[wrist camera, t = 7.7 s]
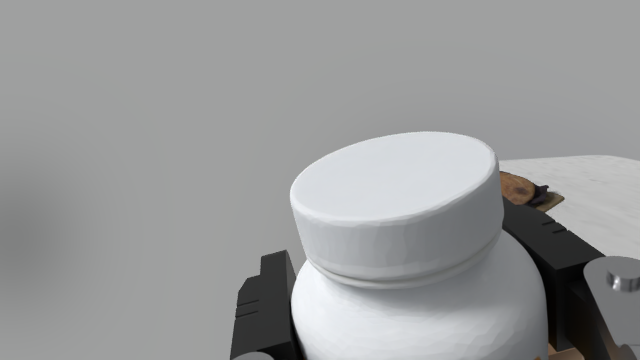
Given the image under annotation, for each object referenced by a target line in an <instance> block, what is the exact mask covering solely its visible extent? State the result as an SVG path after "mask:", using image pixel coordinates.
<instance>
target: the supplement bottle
mask: <svg viewBox="0 0 640 360" xmlns="http://www.w3.org/2000/svg"><path fill="white" fill-rule="evenodd" d="M290 202H291V206H292V210H293V214H294V217H295V221H296V224H297V227H298V231H299V235H300V238H301V242H302V245H303V248H304V250H305V254H306V256H307V261H306V262H305V263H304V265H303V267H302V268H301V270H300V272H299V274H298V276H297V279H296V282H295V285H294V288H293V292H292V298H291V316H292V323H293V327H294V331H295V335H296V338H297V341H298V345H299V348H300V351H301V354H302V357H303V360H548V319H547V306H546V295H545V290H544V285H543V281H542V278H541V275H540V273H539V271H538V269H537V267H536V265H535V263H534V261H533V259H532V258H531V257H530V255H529V254H528V252H527V251H526V250H525V249H524V247H523V246H522V245H521V244H520V243H519V242H518V241H517V240H516V239H515V238H513V237H512V236H511V235H510V234H509V233H507V232H506V231H504V230H503V229H502V221H503V218H504V206H503V199H502V193H501V182H500V172H499V163H498V159H497V156H496V154H495V153H494V151H493V150H492V149H491V148H490V147H489V146H488V145H487V144H485V143H484V142H482V141H480V140H478V139H475V138H473V137H469V136H465V135H460V134H454V133H448V132H413V133H403V134H396V135H390V136H384V137H379V138H374V139H370V140H366V141H362V142H359V143H356V144H353V145H350V146H347V147H345V148H342V149H340V150H337V151H335V152H333V153H331V154H328V155H326V156H325V157H323V158H321V159H319V160H317V161H316V162H314V163H313V164H311V165H310V166H308V167H307V168H306V169H305V170H304V171H303V172H302V173H301V174H300V175H299V176H298V177H297V178H296V180H295V181H294V183H293V185H292V187H291V191H290Z"/></svg>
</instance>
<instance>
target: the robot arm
mask: <svg viewBox="0 0 640 360" xmlns="http://www.w3.org/2000/svg"><path fill="white" fill-rule="evenodd" d="M502 199H503V206H504V218H503V221H502V229H503V230H504V231H506V232H507V233H509V234H510V235H511V236H512V237H513V238H515V239H516V240H517V241H518V242H519V243H520V244H521V245H522V246H523V247H524V249H525V250H526V251H527V252H528V254H529V255H530V257H531V258H532V259H533V261H534V263H535V265H536V267H537V269H538V271H539V273H540V275H541V278H542V281H543V285H544V290H545V295H546V306H547V319H548V343H549V344H550V345H551V346H552V347H553V348H554V350H555V351H556V352H561V351H564V350H568V349H572V348H576V349H577V350H578V351H579V352H580V353H581V354H582V360H640V260H637V259H633V258H628V257H620V256H608V257H606V256H605V255H604V254H602V253H601V252H599V251H598V250H597V249H595V248H594V247H592V246H591V245H589V244H588V243H587V242H585V241H584V240H582V239H581V238H579V237H578V236H577V235H575V234H574V233H572V232H571V231H570V230H568V231H567V229H566V228H565V227H564V226H562V225H561V224H560V223H558V222H557V223H556V222H555V220H554V219H553V218H551V217H550V216H548V215H547V214H545V213H544V212H543V211H541V210H538V209H535V208H532V207H529V206H526V205H520V206H516V205H515V204H514V203H512V202H511V201H510V200H508V199H507V198H506V197H505V196H503V195H502ZM260 270H261V271H260V275H258V276H254V277H250V278H247V280H246V281H245V283H244V284H243V286H242V287H241V289H240V290H239V292H238V300H237V308H236V316H235V317H236V320H235V323H234V331H233V338H232V347H231V355H230V360H303V357H302V354H301V351H300V348H299V345H298V341H297V338H296V335H295V331H294V327H293V323H292V316H291V298H292V292H293V288H294V285H295V282H296V276H295V273H294V270H293V266H292V263H291V260H290V257H289V254H288V252H287V250H283V251H280V252H276V253H273V254H268V255H265V256H262V257H261V269H260Z"/></svg>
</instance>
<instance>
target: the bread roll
mask: <svg viewBox="0 0 640 360" xmlns="http://www.w3.org/2000/svg"><path fill="white" fill-rule="evenodd" d="M499 172H500V182H501V193H502V195H503V196H505V197H506V198H507V199H508V200H510V201H511V202H512V203H514V204H515V205H516V206H520V205H526V206H529V207H532V208H535V209H538V210H541V211H543V212H544V213H545V212H546V211H548V210H549V209H551V208H552V207H554V206H555V205H557V204H558V203H560V202H562V201H563V200H564V197H563V196H560V195H558V194H554V193H551V192H546V191H547V188H549V186H548V185H544V186H537V185H535V184H534V183H532V182H531V181H529V180H528V179H525V178H523V177H520V176H516V175H513V174H510V173H507V172H503V171H499Z"/></svg>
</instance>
